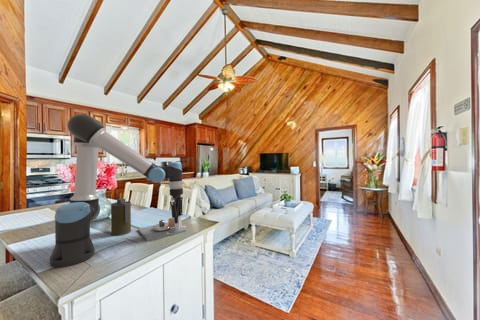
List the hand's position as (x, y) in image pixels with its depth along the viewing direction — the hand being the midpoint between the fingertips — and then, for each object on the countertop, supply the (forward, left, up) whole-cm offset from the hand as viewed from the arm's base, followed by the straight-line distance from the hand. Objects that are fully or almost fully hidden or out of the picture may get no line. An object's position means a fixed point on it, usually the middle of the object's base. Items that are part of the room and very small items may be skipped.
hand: (178, 227), depth 117 cm
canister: (-26, +22, -3) cm, 34 cm away
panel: (-7, +9, -3) cm, 11 cm away
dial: (-4, +7, -2) cm, 9 cm away
